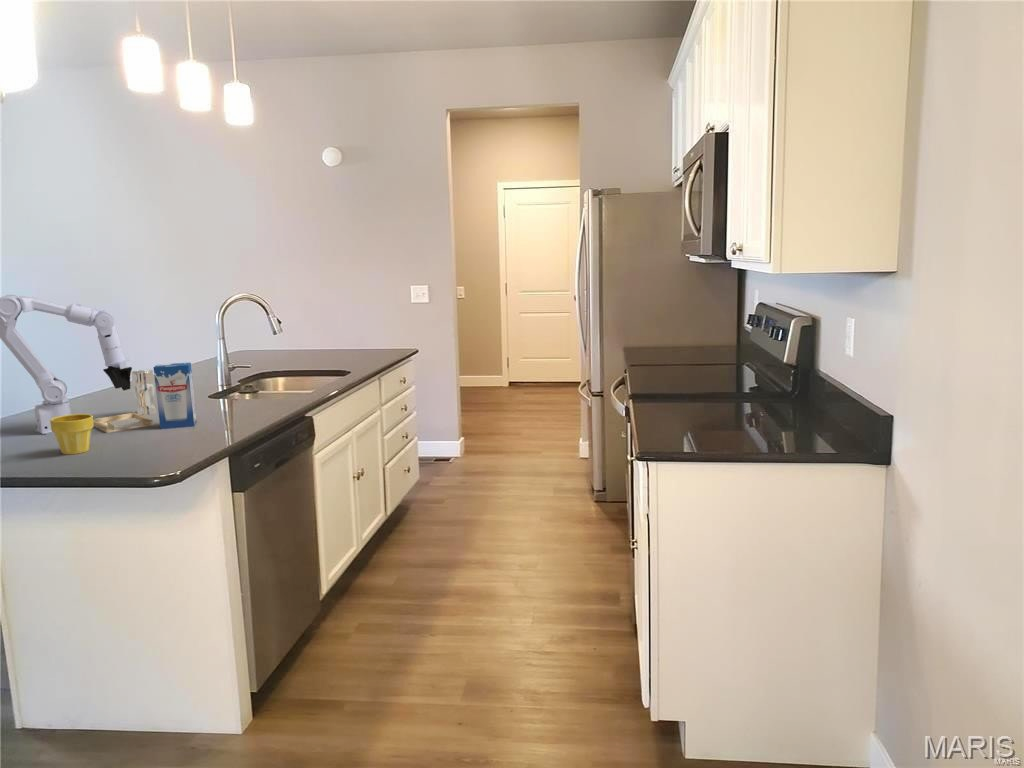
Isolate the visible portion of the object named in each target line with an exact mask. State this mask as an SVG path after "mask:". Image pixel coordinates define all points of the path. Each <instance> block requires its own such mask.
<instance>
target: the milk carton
mask: <svg viewBox="0 0 1024 768" xmlns="http://www.w3.org/2000/svg"><path fill="white" fill-rule="evenodd" d="M153 375H154V381H155V394H156V401H157V402H156V403H157V412H158V419H159V428H160V430H164V429H165V430H167V429H177V428H179V429H180V428H190V427H191V428H192V427H193V428H195V426H196V425H197V423H198V419H197V418H198V417H197V410H196V400H195V390H194V381H193V372H192V362H179V363H178V362H177V363H175V362H173V363H161V364H156V365H154V366H153Z"/></svg>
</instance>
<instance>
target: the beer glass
mask: <svg viewBox="0 0 1024 768" xmlns="http://www.w3.org/2000/svg"><path fill="white" fill-rule="evenodd" d="M131 385H132V387H131V388H132V391H133V395H134V397H135V401H136V404H137V411H136V413H137V414H139V415H142V416H144V415H146V416H147V415H152V414H156V413H157V409H156V406H155V394H156V386H155V377H154V369H140V370H135V371H134V370H133V371H131Z"/></svg>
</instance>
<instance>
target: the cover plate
mask: <svg viewBox="0 0 1024 768" xmlns="http://www.w3.org/2000/svg"><path fill="white" fill-rule="evenodd" d="M107 425H108V427H109V428H111V429H113V430H119V429H125V428H130V427H136V426H142V422H141V421H140V420H138V419H136V418H129V419H123V420H117V421H111V422H107Z"/></svg>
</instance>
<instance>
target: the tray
mask: <svg viewBox="0 0 1024 768" xmlns="http://www.w3.org/2000/svg"><path fill="white" fill-rule="evenodd" d="M129 418H136V419H138V420H140V421H141V422H142V426H136V427H130V428H125V429H119V430H113V429H111V428H109V427H108V425H107V422H111V421H117V420H123V419H129ZM93 424H94V427H93V428H96V429H97V430H98V429H99V430H100V431H102V432H104V433H106V434H109V433H115V432H120V431H126V430H127V431H128V430H131V429H138V428H144V427H150V426H154V421H153V419H152V418H148V417H146V416H144V415H139V414H137V412H130V413H125V414H118V415H110V416H105V417H98V418H93Z"/></svg>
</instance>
